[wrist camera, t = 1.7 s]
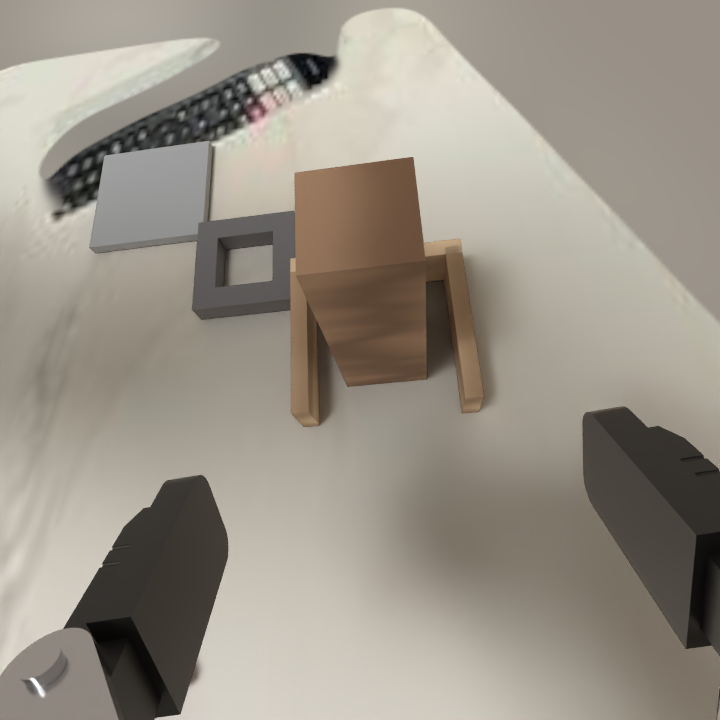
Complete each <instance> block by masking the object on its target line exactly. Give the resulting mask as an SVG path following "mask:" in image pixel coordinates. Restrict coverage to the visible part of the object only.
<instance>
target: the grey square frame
mask: <svg viewBox="0 0 720 720" xmlns="http://www.w3.org/2000/svg"><path fill="white" fill-rule="evenodd" d="M269 244H273V281H269V282H260V283H251V284H242V285H234V286H225V287H224V270H225V250H228V249H236V248H245V247H253V246H261V245H269ZM291 258H295V212H294V211H288V212H280V213H272V214H264V215H256V216H248V217H241V218H233V219H225V220H217V221H209V222H201V223H198V237H197V250H196V264H195V277H194V291H193V304H192V310H193V311H194V312H195V313H196V314H197V316H198V317H199V318H200V319H201V320H202V319H211V318H220V317H229V316H239V315H248V314H257V313H266V312H276V311H285V310H291V292H290V259H291Z"/></svg>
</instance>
